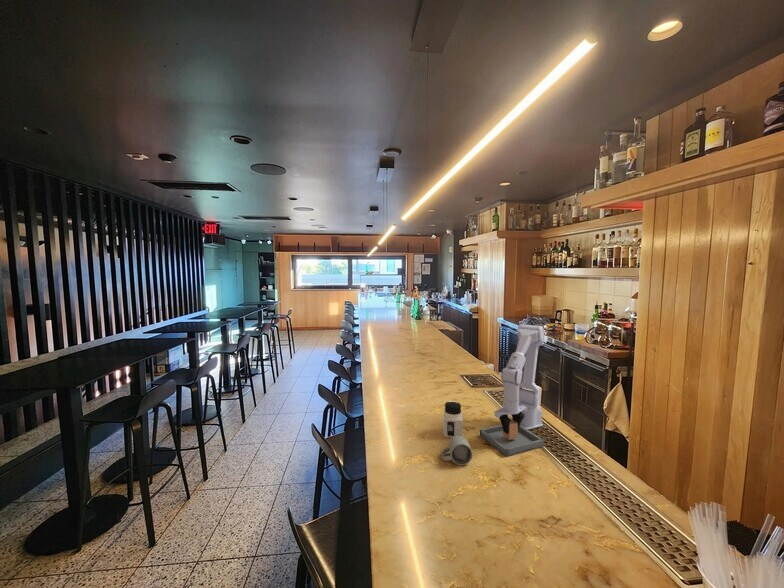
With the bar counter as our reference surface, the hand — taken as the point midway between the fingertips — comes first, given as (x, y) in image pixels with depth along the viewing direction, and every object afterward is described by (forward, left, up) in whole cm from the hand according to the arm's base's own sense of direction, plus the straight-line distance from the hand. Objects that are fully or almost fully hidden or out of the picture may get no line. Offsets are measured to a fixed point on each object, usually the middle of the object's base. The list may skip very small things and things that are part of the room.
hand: (510, 431), depth 124 cm
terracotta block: (0, 0, -2) cm, 2 cm away
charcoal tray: (0, 0, -4) cm, 4 cm away
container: (+18, -14, -4) cm, 23 cm away
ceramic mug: (+27, +2, -4) cm, 27 cm away
